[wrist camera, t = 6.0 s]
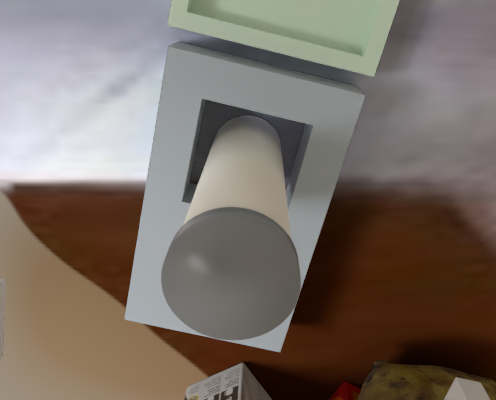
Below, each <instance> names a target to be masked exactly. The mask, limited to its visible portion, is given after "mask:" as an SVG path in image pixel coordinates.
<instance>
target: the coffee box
mask: <svg viewBox="0 0 496 400" xmlns="http://www.w3.org/2000/svg"><path fill="white" fill-rule="evenodd" d="M185 400H272V399H271V398H270V396H269V395H268V394H267V392H266V391H265V390H264V389H263V387H262V386H261V385H260V383H259V382H258V381H257V379H256V378H255V377H254V376H253V374H252V373H251V372H250V370H249V369H248V368H247V366H246V365H245V364H244V363H240V364H238V365H236V366H233V367H231V368H229V369H226V370H224V371H222V372H219V373H217V374H215V375H213V376H210V377H208V378H206V379H204V380H201V381H199V382H197V383H195V384H192V385H190V386H188V387H187V390H186V394H185Z"/></svg>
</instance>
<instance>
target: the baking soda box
mask: <svg viewBox="0 0 496 400" xmlns="http://www.w3.org/2000/svg"><path fill="white" fill-rule="evenodd" d="M360 392H361V389H360V388H358V387H356V386H354V385H352V384H350V383H348V382H345V381H344V382H343V383H342V384H341V385H340V386H339V388H338V389H337V390H336V391H335V392H334V394H333V395H332V396H331V397H330V398H329V400H358V397H359V394H360Z"/></svg>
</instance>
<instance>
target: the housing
mask: <svg viewBox="0 0 496 400" xmlns="http://www.w3.org/2000/svg"><path fill="white" fill-rule="evenodd" d="M365 96H366V95H365V94H364V93H363V92H362V91H361V90H359V89H358V88H357V87H356V86H355V85H351V84H347V83H343V82H339V81H335V80H331V79H327V78H323V77H319V76H315V75H311V74H307V73H303V72H299V71H295V70H291V69H287V68H283V67H278V66H274V65H270V64H266V63H262V62H258V61H254V60H250V59H246V58H242V57H238V56H234V55H230V54H226V53H222V52H218V51H214V50H210V49H206V48H202V47H198V46H194V45H190V44H186V43H182V42H177V43H174V44H172V45H170V46H168V51H167V57H166V63H165V69H164V76H163V82H162V88H161V94H160V101H159V107H158V113H157V119H156V126H155V132H154V138H153V144H152V151H151V157H150V163H149V169H148V176H147V182H146V188H145V194H144V201H143V207H142V213H141V219H140V226H139V232H138V238H137V244H136V250H135V257H134V263H133V269H132V275H131V282H130V288H129V294H128V300H127V307H126V313H125V320H130V321H134V322H139V323H144V324H148V325H153V326H158V327H162V328H167V329H172V330H177V331H181V332H186V333H191V334H196V335H200V336H205V337H209V336H206V335H203V334H201V333H199V332H197V331H195V330H193V329H191V328H190V327H188V326H187V325H185V324H184V323H183V322H182V321H181V320H180V319H179V318H178V317H177V316H176V315H175V314H174V313H173V311H172V310H171V309H170V307H169V306H168V304H167V302H166V300H165V297H164V294H163V291H162V286H161V272H162V266H163V263H164V260H165V257H166V255H167V252H168V249H169V247H170V244H171V242H172V240H173V238H174V236H175V235H176V233H177V232H178V231H179V229H180V228H181V227H182V226H183V224H184V221H185V218H186V215H187V213H188V210H189V207H190V204H191V202H192V199H193V196H194V194H195V191H196V188H197V184H193V183H190V178H191V173H192V168H193V163H194V158H195V153H196V148H197V143H198V138H199V133H200V128H201V123H202V118H203V113H204V108H205V103H206V100H210V101H214V102H218V103H222V104H226V105H230V106H234V107H239V108H243V109H247V110H251V111H255V112H259V113H263V114H268V115H272V116H276V117H280V118H284V119H288V120H292V121H296V122H301V123H305V127H304V131H303V134H302V138H301V141H300V145H299V148H298V151H297V155H296V158H295V162H294V165H293V169H292V172H291V176H290V179H289V183H288V186H287V189H286V197H287V206H288V216H289V225H290V234H291V240H292V242H293V243H294V246H295V248H296V251H297V255H298V260H299V268H300V276H301V288H302V285H303V282H304V279H305V276H306V273H307V270H308V267H309V264H310V261H311V258H312V255H313V252H314V249H315V246H316V243H317V240H318V237H319V234H320V231H321V228H322V225H323V222H324V219H325V216H326V213H327V210H328V207H329V204H330V201H331V198H332V195H333V192H334V189H335V186H336V183H337V180H338V177H339V174H340V171H341V168H342V165H343V162H344V159H345V156H346V153H347V150H348V147H349V144H350V141H351V138H352V135H353V132H354V129H355V126H356V123H357V120H358V117H359V114H360V111H361V108H362V105H363V102H364V99H365ZM300 291H301V289H300ZM294 309H295V307H294ZM294 309H293V311H292V312H291V314H290V315H289V316H288V317H287V319H286V320H285V321H283V322H282V323H281V324H280V325H279V326H277V327H276V328H275V329H273V330H271V331H269V332H268V333H266V334H263V335H261V336H258V337H254V338H251V339H244V340H224V341H229V342H234V343H238V344H243V345H248V346H253V347H257V348H262V349H267V350H271V351H276V352H280V351H281V348H282V345H283V342H284V339H285V336H286V333H287V330H288V327H289V324H290V321H291V318H292V315H293V312H294ZM210 338H213V337H210ZM215 339H216V338H215ZM219 340H223V339H219Z"/></svg>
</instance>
